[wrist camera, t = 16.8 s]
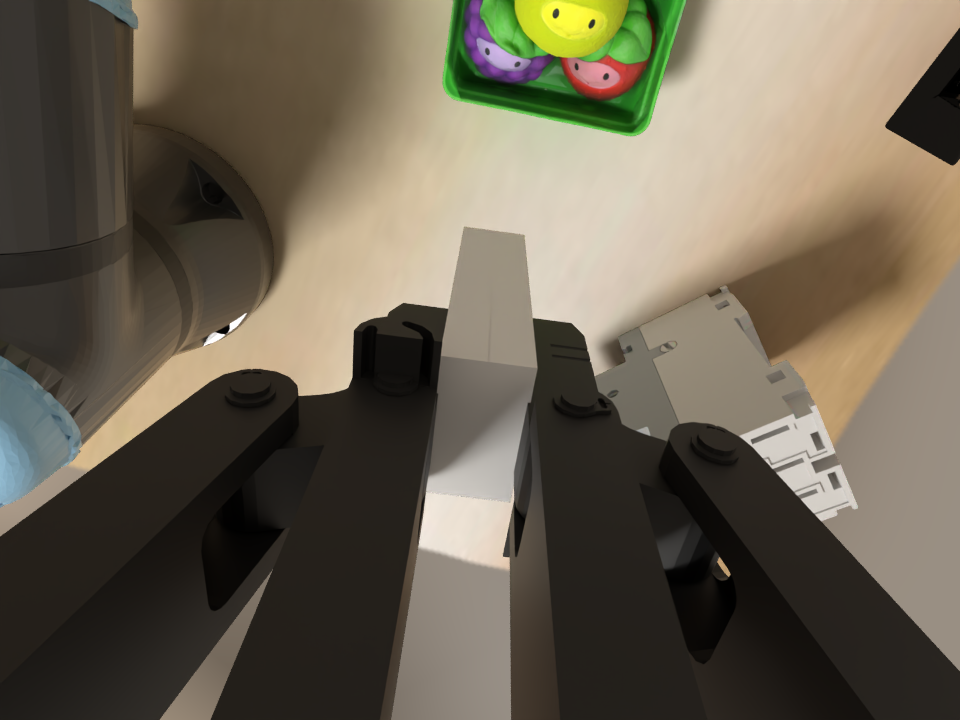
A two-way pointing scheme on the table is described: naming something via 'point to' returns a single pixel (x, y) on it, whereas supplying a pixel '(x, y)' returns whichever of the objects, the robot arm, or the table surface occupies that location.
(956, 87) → the black stepped block
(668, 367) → the circuit breaker
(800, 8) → the table surface
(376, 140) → the table surface
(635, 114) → the fruit basket
